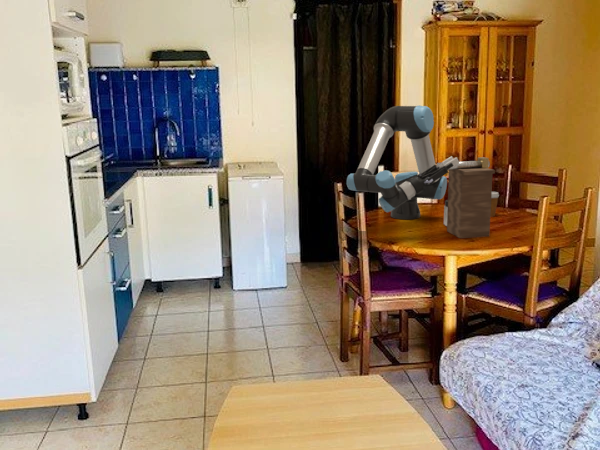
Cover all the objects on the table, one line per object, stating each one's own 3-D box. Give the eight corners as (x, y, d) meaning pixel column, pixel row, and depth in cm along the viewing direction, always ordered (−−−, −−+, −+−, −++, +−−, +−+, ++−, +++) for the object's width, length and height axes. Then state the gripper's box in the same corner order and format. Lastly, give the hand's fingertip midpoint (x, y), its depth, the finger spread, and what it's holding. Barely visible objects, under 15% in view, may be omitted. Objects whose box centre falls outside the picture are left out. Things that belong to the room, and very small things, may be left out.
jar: (452, 227, 284) (453, 203, 282) (440, 224, 291) (441, 200, 288) (465, 225, 289) (466, 200, 286) (453, 222, 296) (453, 198, 293)
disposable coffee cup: (502, 216, 307) (503, 193, 305) (487, 218, 304) (488, 194, 301) (489, 212, 316) (491, 190, 313) (475, 214, 313) (476, 192, 310)
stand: (445, 230, 280) (447, 166, 273) (472, 228, 282) (475, 165, 276) (462, 239, 263) (464, 171, 256) (491, 237, 265) (495, 170, 258)
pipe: (435, 169, 265) (436, 159, 264) (485, 166, 270) (485, 157, 269) (440, 170, 261) (440, 160, 260) (490, 168, 266) (490, 158, 265)
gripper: (408, 191, 272) (450, 164, 273) (422, 198, 256) (467, 168, 256) (400, 177, 270) (443, 150, 271) (414, 183, 253) (460, 154, 254)
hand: (455, 159), depth 264 cm, fingers open, 4 cm apart
